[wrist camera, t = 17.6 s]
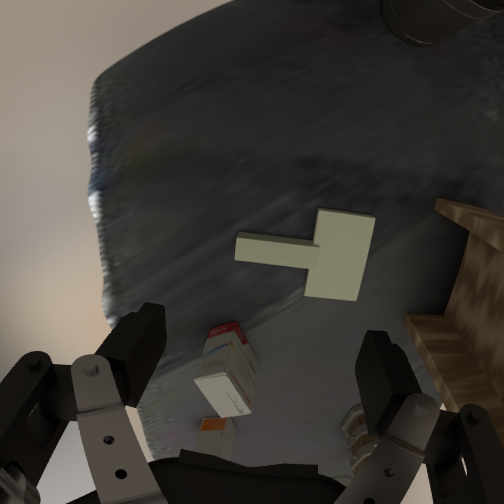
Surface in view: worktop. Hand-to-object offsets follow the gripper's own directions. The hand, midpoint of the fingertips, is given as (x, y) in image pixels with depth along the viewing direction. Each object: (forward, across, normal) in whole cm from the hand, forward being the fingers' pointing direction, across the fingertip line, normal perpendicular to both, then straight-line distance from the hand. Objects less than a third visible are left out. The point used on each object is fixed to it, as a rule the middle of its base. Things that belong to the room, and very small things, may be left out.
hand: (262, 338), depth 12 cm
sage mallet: (+30, -4, +7) cm, 31 cm away
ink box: (+30, +4, +24) cm, 39 cm away
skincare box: (+30, +6, +45) cm, 54 cm away
